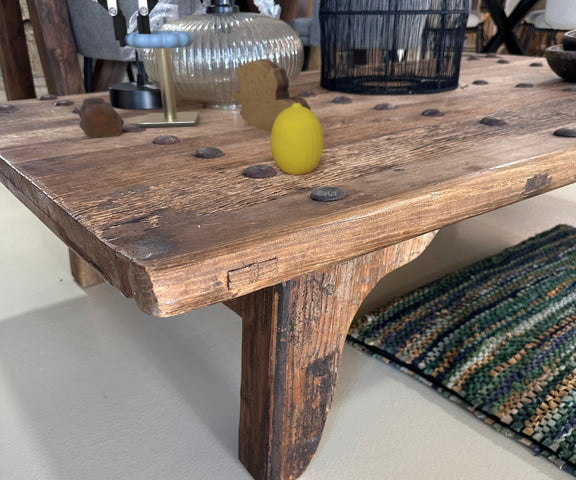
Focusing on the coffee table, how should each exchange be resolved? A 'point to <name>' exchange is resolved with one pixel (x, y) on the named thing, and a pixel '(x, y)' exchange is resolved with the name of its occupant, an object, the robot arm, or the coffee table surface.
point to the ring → (159, 39)
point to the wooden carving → (264, 93)
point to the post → (168, 99)
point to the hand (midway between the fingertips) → (134, 44)
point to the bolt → (99, 119)
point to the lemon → (297, 140)
